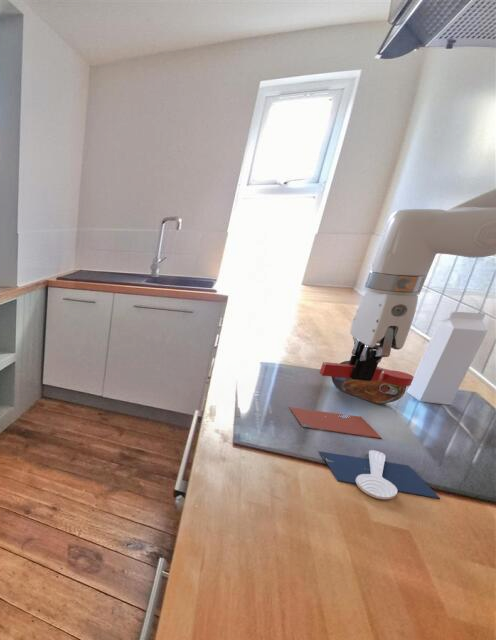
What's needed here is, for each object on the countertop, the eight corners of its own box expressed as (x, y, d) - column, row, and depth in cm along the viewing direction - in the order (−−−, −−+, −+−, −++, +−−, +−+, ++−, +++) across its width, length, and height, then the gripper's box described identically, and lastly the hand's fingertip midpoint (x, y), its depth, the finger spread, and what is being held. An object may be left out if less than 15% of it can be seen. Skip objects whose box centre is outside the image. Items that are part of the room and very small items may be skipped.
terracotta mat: (360, 417, 95) (361, 416, 95) (381, 438, 86) (381, 437, 86) (289, 407, 99) (289, 407, 99) (302, 427, 91) (302, 426, 91)
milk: (450, 405, 100) (496, 317, 91) (418, 401, 102) (460, 314, 93) (435, 395, 105) (477, 310, 96) (405, 391, 107) (444, 308, 98)
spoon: (395, 457, 79) (396, 455, 79) (397, 504, 67) (398, 502, 67) (359, 447, 82) (359, 445, 82) (354, 490, 70) (355, 488, 70)
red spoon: (403, 379, 81) (407, 367, 80) (415, 387, 77) (420, 375, 76) (316, 370, 85) (320, 359, 84) (324, 378, 82) (328, 366, 81)
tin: (326, 385, 111) (337, 356, 108) (334, 384, 112) (345, 355, 109) (391, 409, 98) (405, 377, 95) (400, 408, 99) (414, 375, 96)
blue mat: (408, 466, 77) (408, 465, 77) (439, 499, 69) (440, 498, 69) (318, 452, 82) (319, 451, 82) (338, 481, 73) (338, 480, 73)
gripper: (448, 292, 66) (402, 396, 74) (397, 277, 80) (363, 366, 87) (389, 290, 69) (351, 390, 76) (349, 275, 82) (320, 362, 89)
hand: (357, 376), depth 81 cm, fingers closed on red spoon, 1 cm apart
